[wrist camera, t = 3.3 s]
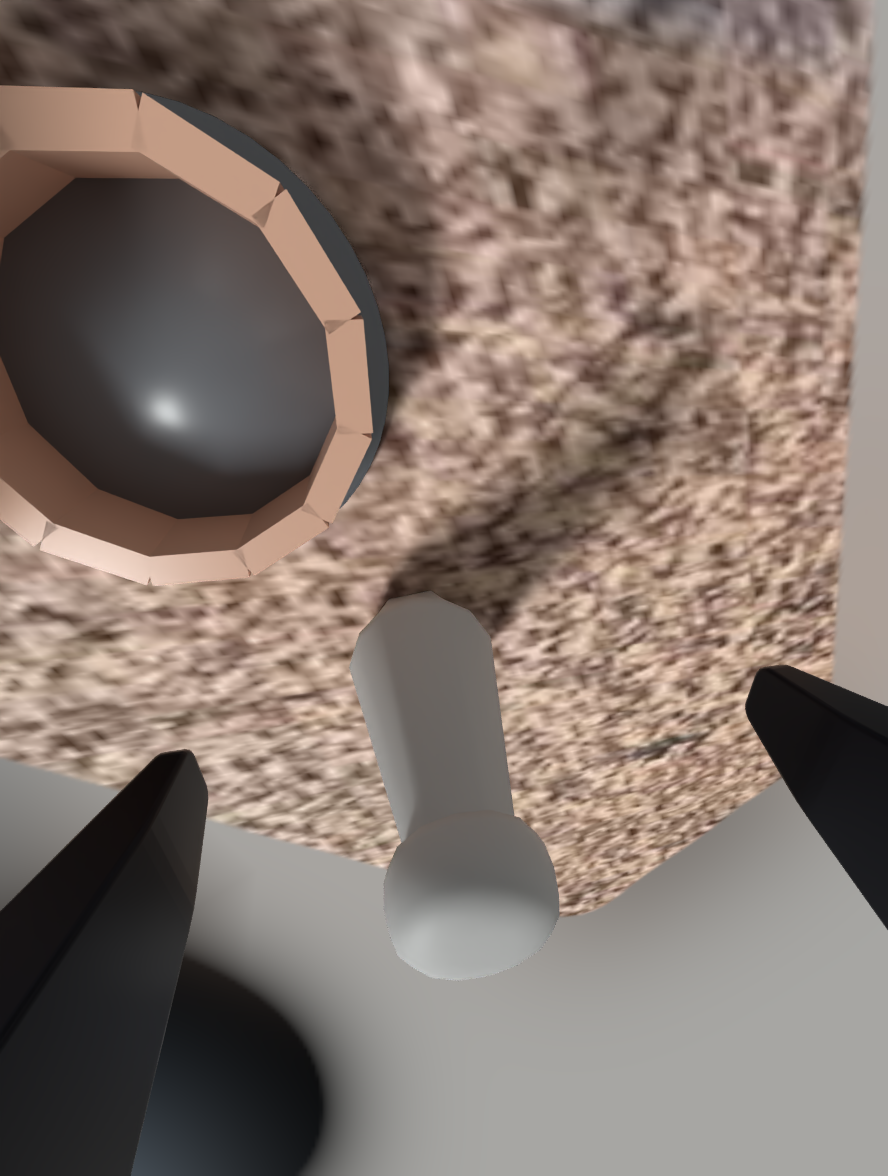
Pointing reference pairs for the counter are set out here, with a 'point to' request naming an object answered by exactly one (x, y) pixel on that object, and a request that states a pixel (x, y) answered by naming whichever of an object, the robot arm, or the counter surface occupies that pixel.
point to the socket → (173, 341)
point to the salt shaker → (449, 795)
